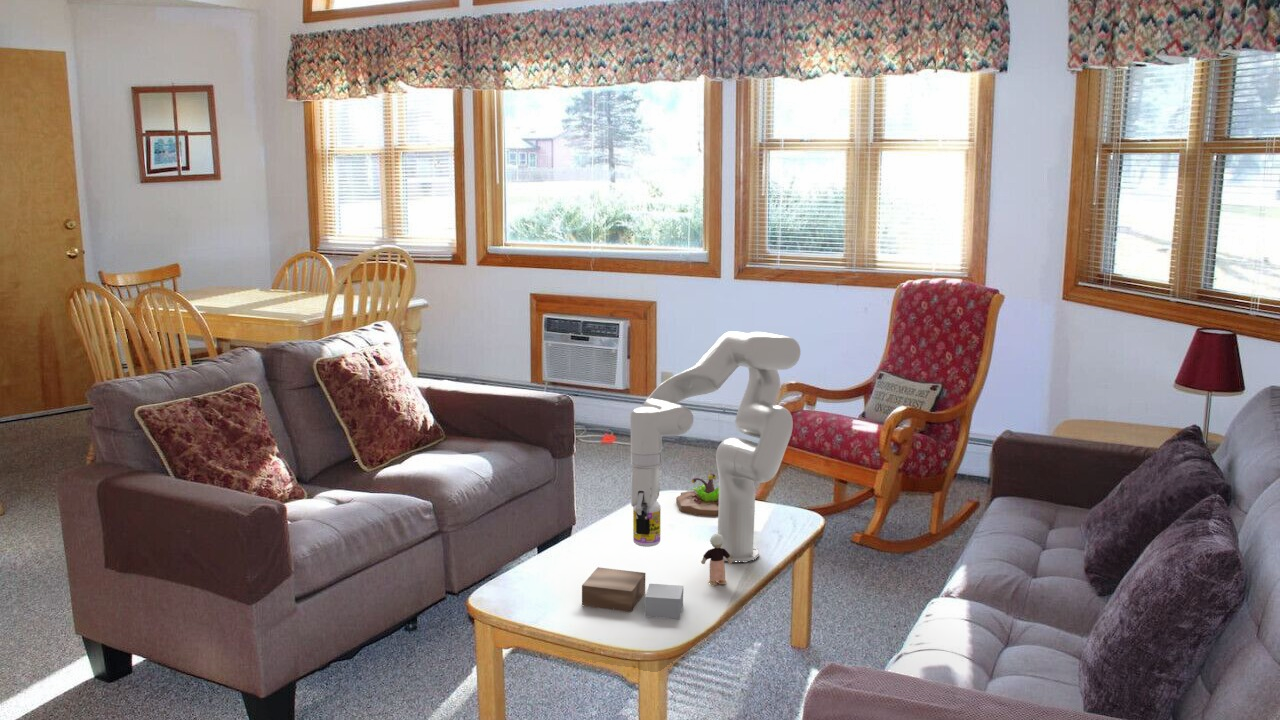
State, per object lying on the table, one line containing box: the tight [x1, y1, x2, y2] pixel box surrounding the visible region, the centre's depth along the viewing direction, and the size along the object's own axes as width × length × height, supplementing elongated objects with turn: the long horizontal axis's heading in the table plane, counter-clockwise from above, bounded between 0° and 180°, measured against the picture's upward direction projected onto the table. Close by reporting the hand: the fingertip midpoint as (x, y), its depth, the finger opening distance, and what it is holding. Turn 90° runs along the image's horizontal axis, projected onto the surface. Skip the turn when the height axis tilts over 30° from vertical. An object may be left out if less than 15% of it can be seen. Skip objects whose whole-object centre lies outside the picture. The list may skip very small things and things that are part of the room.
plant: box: [675, 472, 719, 517], centre depth 322 cm, size 20×20×11 cm
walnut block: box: [581, 567, 646, 613], centre depth 250 cm, size 12×12×5 cm
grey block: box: [644, 583, 684, 620], centre depth 244 cm, size 8×8×5 cm
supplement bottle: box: [632, 494, 661, 548], centre depth 259 cm, size 7×7×13 cm
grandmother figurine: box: [700, 533, 733, 586], centre depth 260 cm, size 8×4×13 cm, turn 111°
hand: (647, 528), depth 259 cm, fingers closed on supplement bottle, 6 cm apart
